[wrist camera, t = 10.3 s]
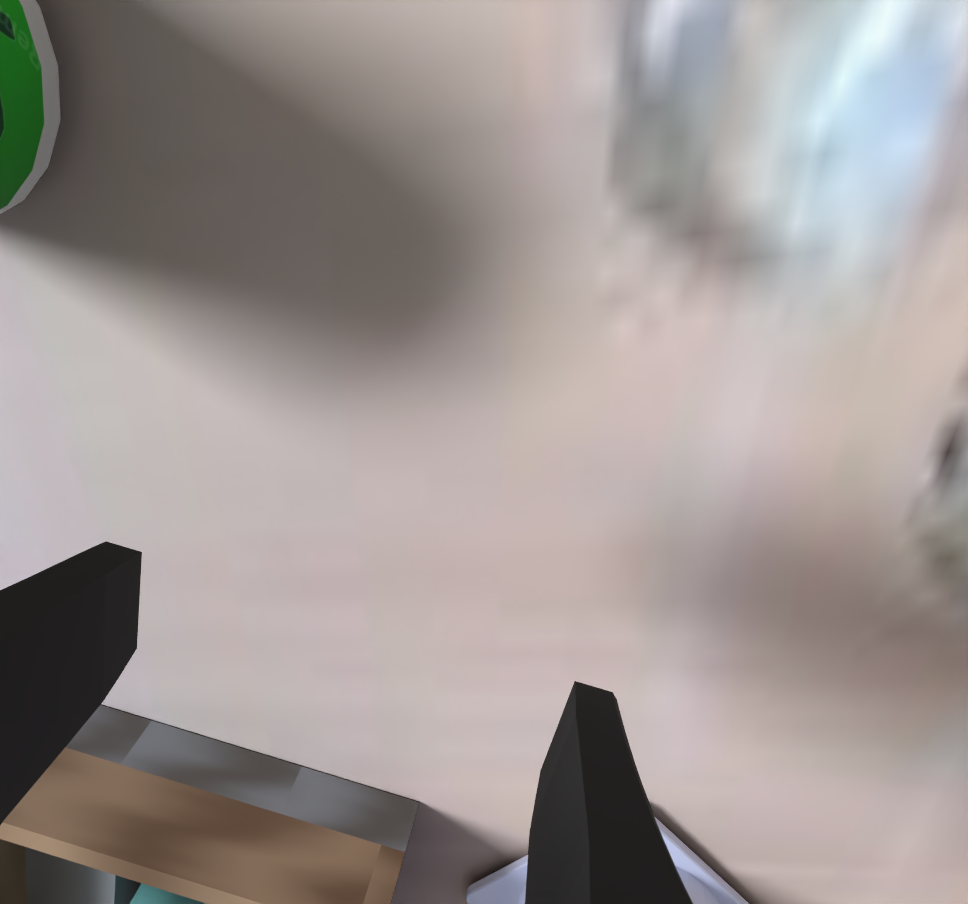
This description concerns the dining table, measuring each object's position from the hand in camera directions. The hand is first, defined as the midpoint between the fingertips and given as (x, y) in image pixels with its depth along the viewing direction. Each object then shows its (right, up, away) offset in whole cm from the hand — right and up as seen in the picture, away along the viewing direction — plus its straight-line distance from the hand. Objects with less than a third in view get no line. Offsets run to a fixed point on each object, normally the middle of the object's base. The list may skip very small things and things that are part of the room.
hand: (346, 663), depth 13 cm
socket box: (-8, -13, +19) cm, 24 cm away
